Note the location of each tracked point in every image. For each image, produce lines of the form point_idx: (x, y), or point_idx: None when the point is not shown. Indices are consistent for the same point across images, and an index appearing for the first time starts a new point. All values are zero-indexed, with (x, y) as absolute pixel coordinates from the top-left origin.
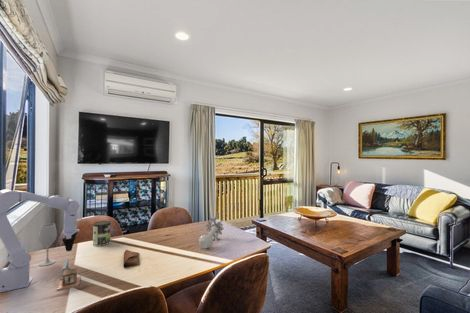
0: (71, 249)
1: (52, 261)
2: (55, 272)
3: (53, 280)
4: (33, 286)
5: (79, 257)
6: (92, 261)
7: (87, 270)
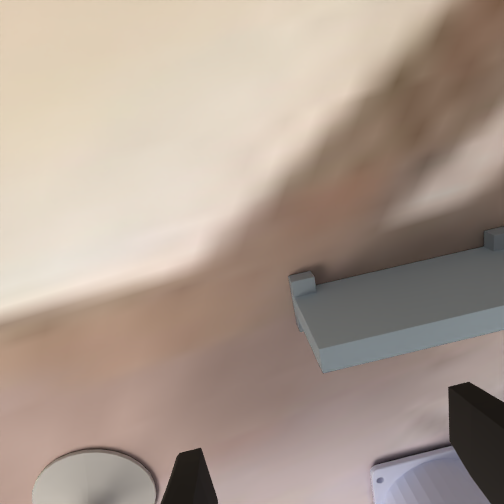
0: (487, 395)
1: (93, 472)
2: None
3: None
4: None
5: (6, 279)
6: (165, 94)
7: (400, 93)
